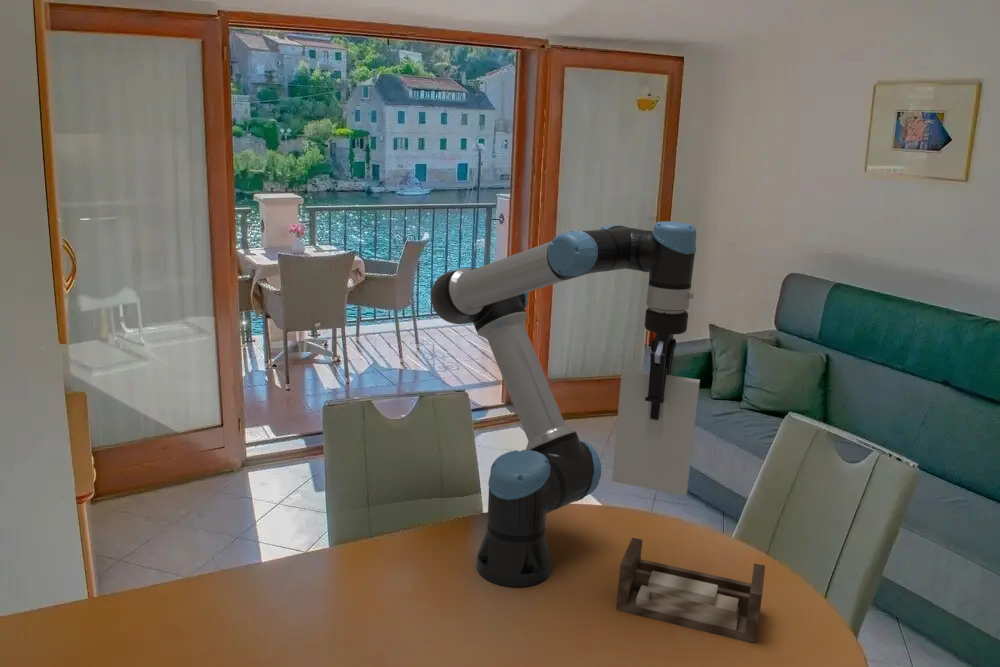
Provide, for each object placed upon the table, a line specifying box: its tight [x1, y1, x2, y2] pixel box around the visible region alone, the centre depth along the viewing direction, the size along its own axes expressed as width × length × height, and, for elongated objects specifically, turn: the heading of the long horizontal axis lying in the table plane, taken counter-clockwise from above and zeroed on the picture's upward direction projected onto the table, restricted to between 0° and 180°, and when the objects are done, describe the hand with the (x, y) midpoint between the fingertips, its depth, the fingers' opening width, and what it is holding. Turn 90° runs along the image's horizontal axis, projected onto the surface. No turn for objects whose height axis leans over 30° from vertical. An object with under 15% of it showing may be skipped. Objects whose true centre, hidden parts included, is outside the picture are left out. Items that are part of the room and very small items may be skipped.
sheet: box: [611, 368, 701, 496], centre depth 153 cm, size 14×2×22 cm, turn 70°
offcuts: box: [636, 571, 739, 630], centre depth 150 cm, size 18×5×5 cm, turn 70°
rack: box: [615, 537, 766, 644], centre depth 153 cm, size 25×11×10 cm, turn 70°
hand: (654, 432), depth 153 cm, fingers closed on sheet, 2 cm apart
